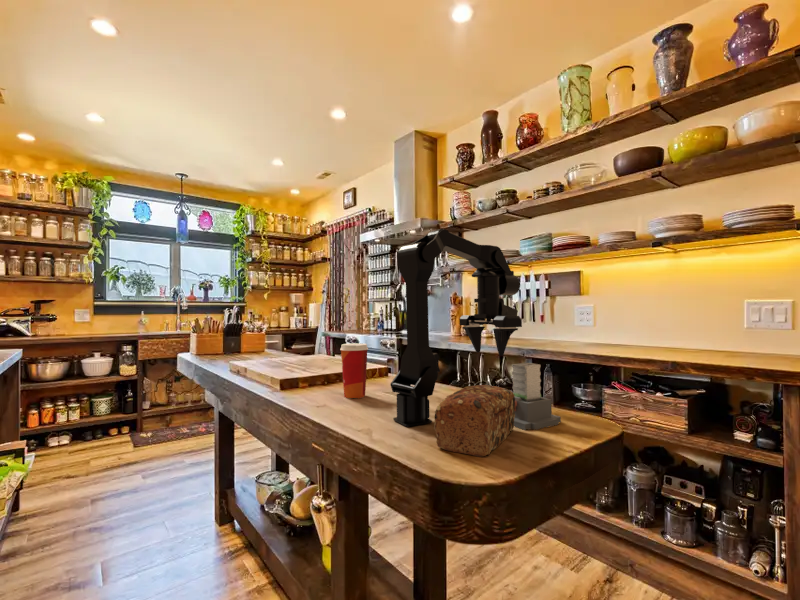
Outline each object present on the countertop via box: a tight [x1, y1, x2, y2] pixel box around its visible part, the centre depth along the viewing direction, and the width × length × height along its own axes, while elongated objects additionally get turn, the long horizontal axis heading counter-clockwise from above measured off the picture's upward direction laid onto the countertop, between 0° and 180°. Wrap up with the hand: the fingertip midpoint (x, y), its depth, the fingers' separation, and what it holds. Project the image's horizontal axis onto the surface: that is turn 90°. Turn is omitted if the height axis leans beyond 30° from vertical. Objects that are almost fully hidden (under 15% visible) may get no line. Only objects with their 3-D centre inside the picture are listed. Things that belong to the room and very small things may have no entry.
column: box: [511, 362, 542, 402], centre depth 89 cm, size 5×4×8 cm
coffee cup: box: [339, 342, 369, 399], centre depth 115 cm, size 8×8×15 cm
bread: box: [433, 384, 515, 458], centre depth 77 cm, size 19×11×10 cm, turn 150°
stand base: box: [514, 396, 562, 431], centre depth 88 cm, size 11×11×6 cm
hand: (489, 353), depth 106 cm, fingers open, 9 cm apart
